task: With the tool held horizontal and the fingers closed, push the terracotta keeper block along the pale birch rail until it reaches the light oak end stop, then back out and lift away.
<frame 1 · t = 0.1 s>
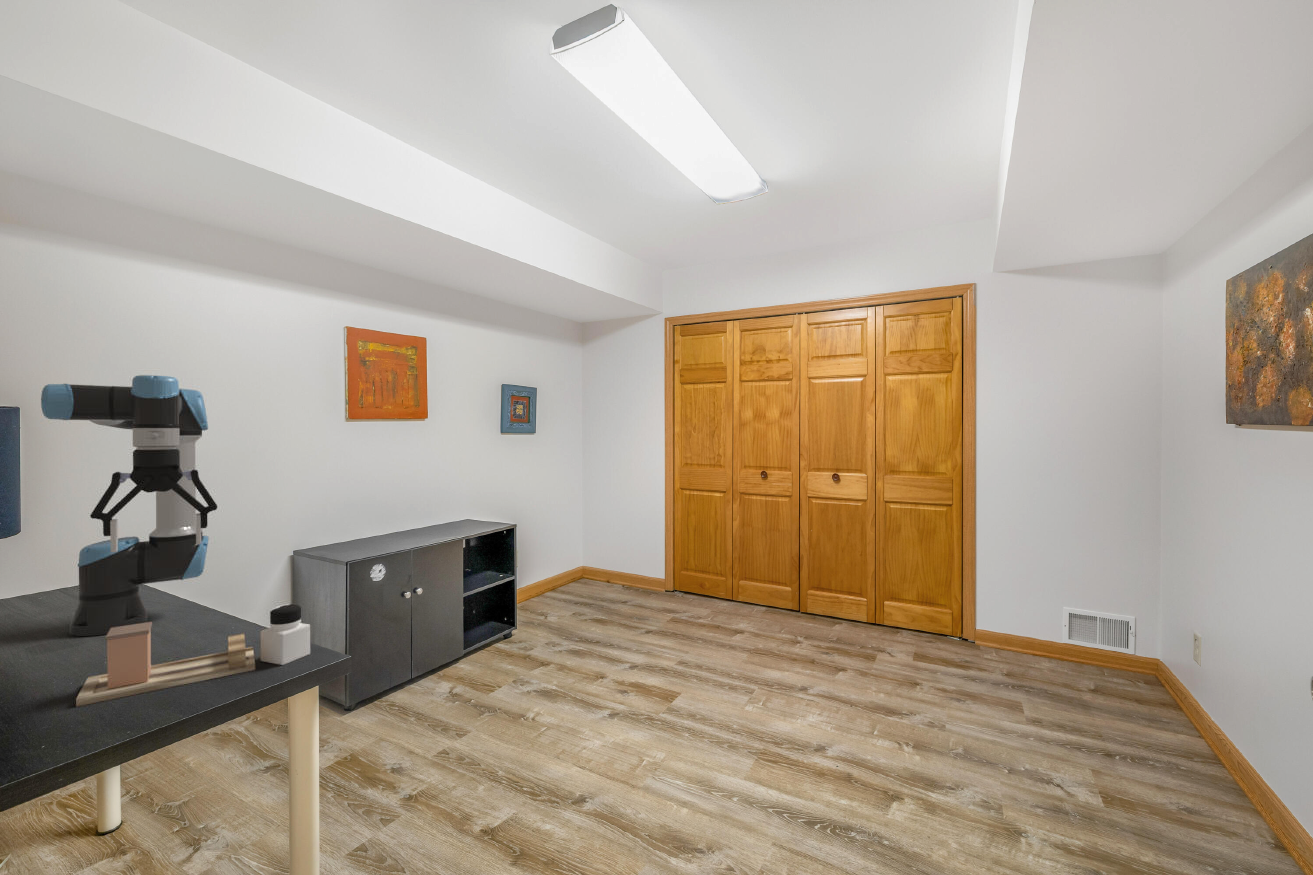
hand: (158, 547, 121), 28 cm above the table, tool pointing down, fingers open, 13 cm apart
keeper: (129, 654, 118), point 6 cm above the table, slide at 0.0 cm
rail track: (174, 676, 122), on the table
medicine bottle: (285, 658, 132), on the table
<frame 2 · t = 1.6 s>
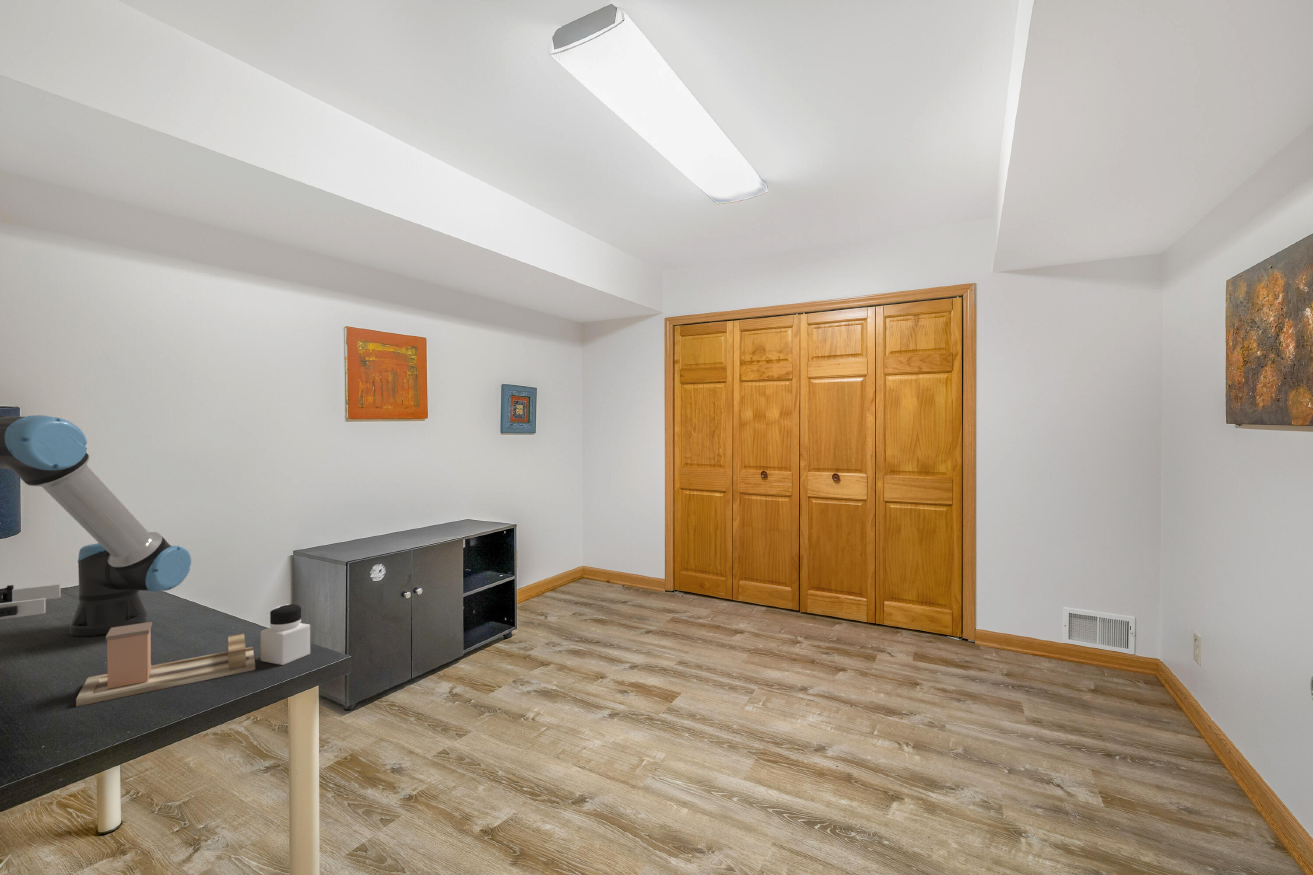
hand: (53, 597, 111), 20 cm above the table, tool horizontal, fingers open, 12 cm apart
nothing on the table moved.
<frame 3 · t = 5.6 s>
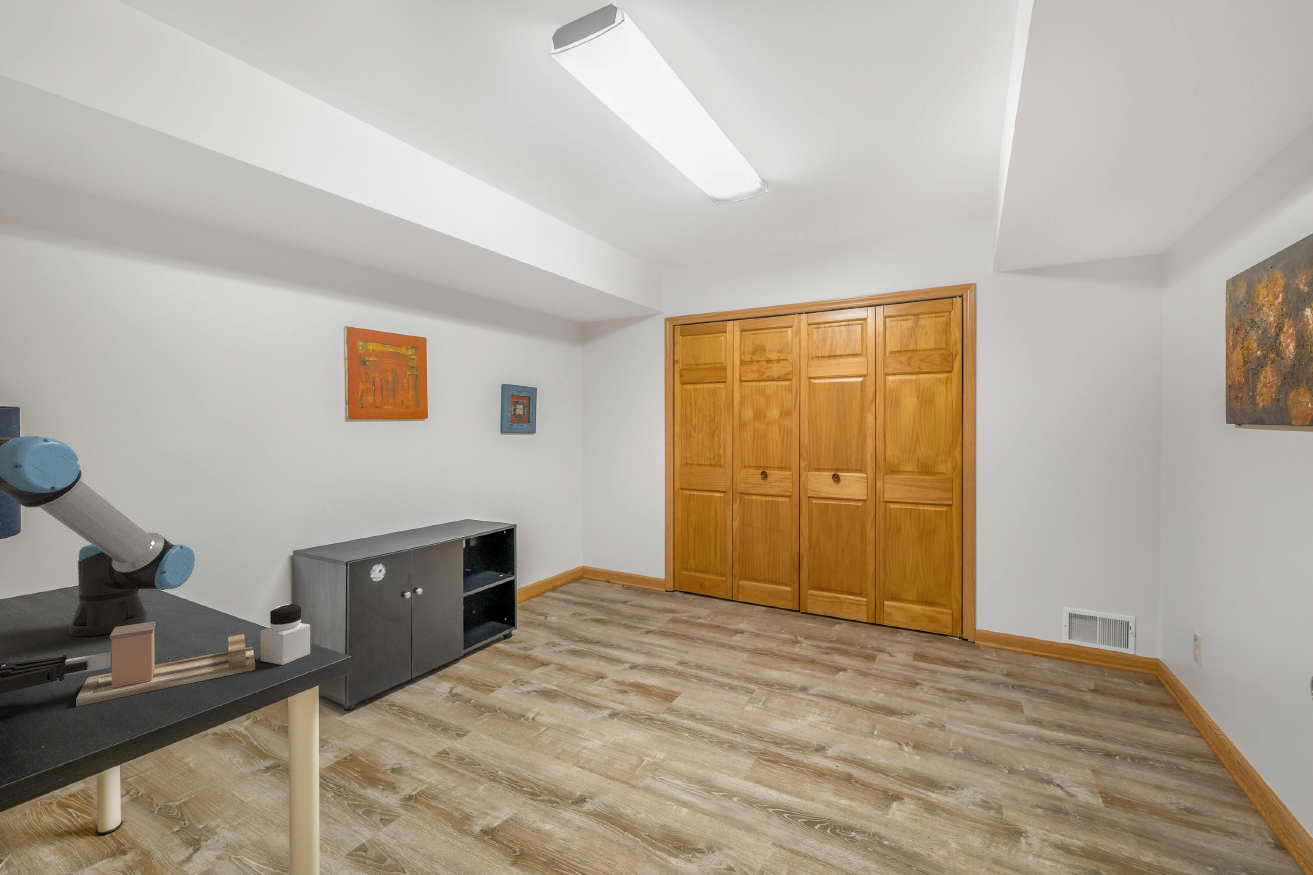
hand: (111, 659, 115), 6 cm above the table, tool horizontal, fingers closed
keeper: (133, 653, 118), point 6 cm above the table, slide at 0.6 cm, touching gripper
everything else where it was.
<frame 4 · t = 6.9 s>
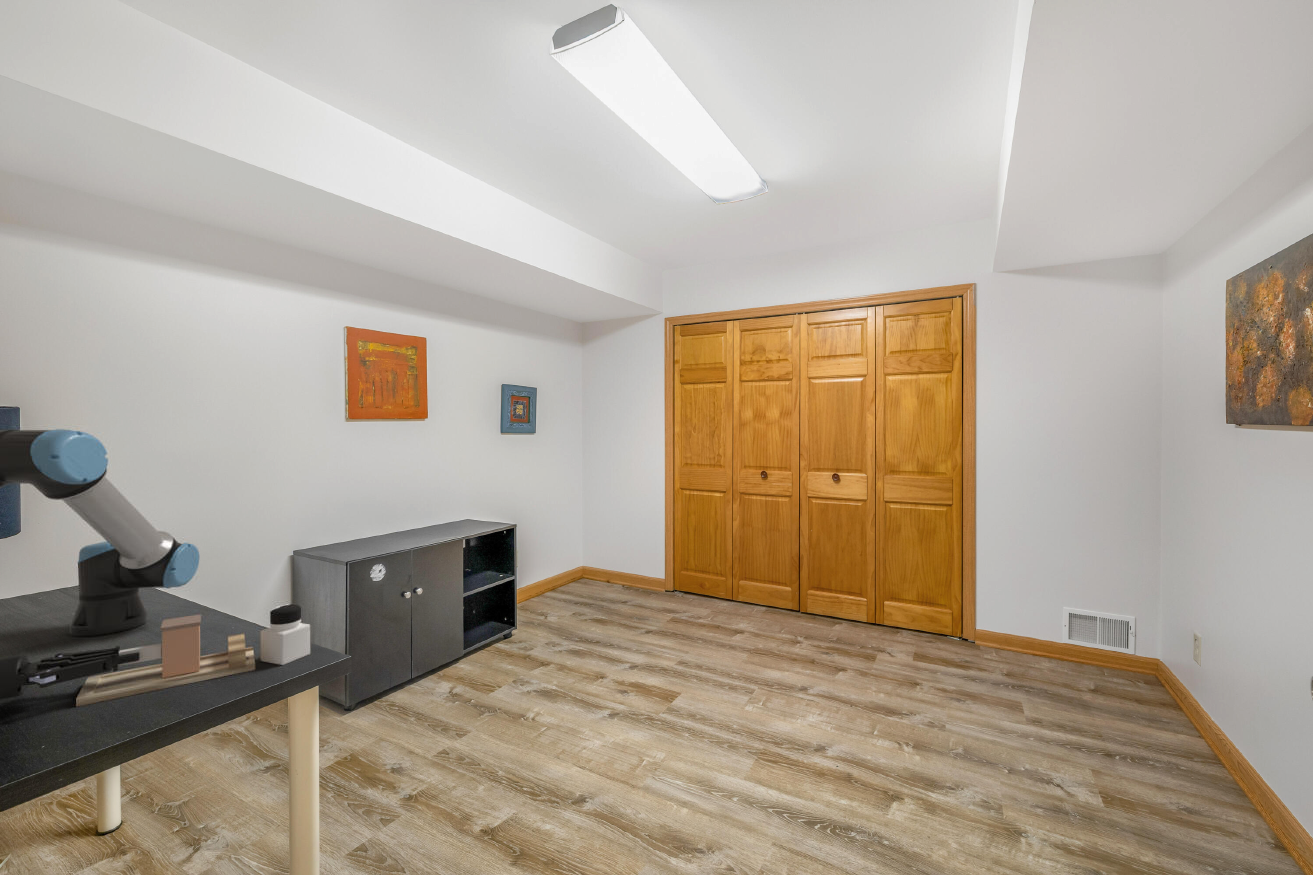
hand: (161, 650, 120), 6 cm above the table, tool horizontal, fingers closed
keeper: (181, 645, 123), point 6 cm above the table, slide at 8.3 cm, touching gripper
everything else where it was.
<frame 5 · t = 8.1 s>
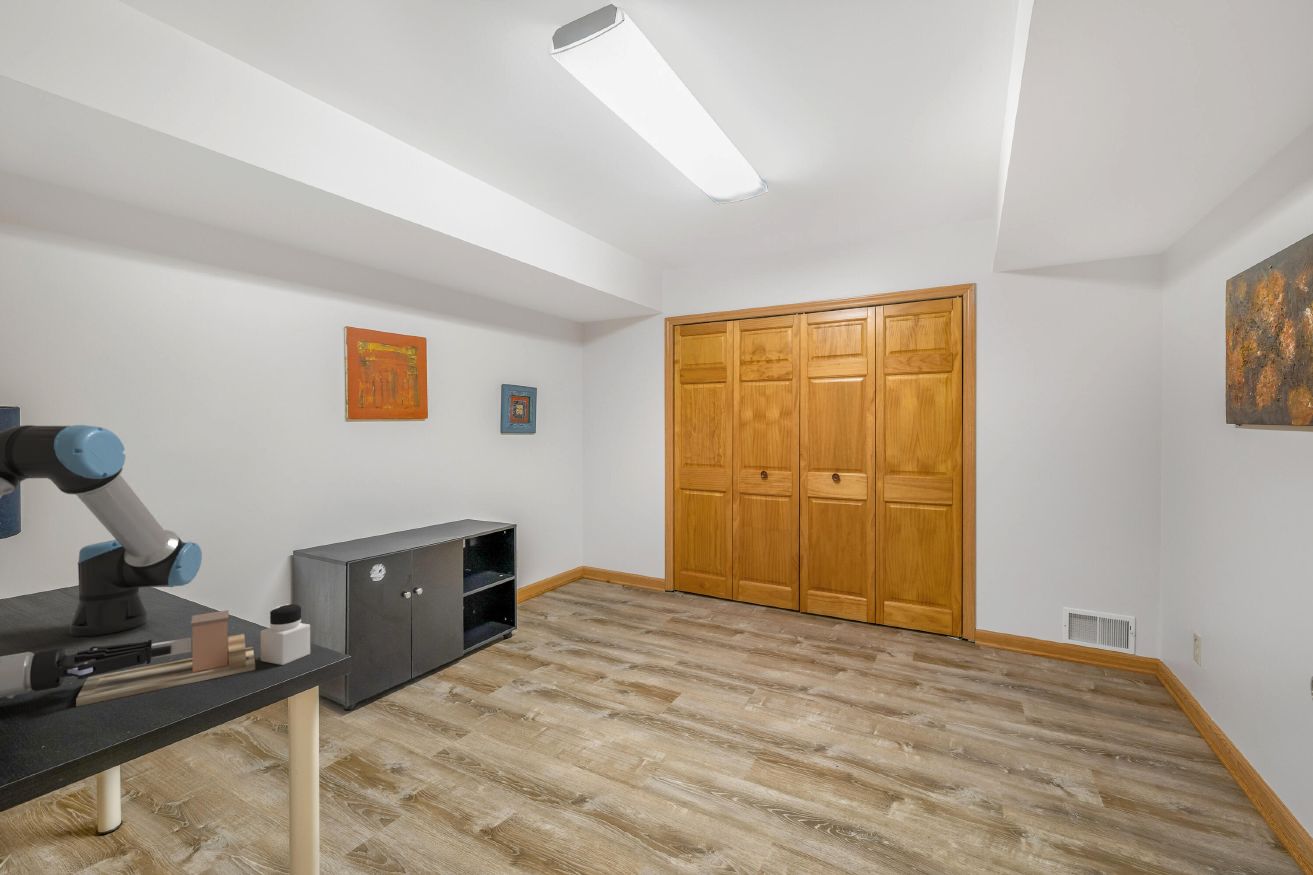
hand: (191, 644, 123), 6 cm above the table, tool horizontal, fingers closed
keeper: (210, 640, 126), point 6 cm above the table, slide at 13.2 cm, touching gripper
everything else where it was.
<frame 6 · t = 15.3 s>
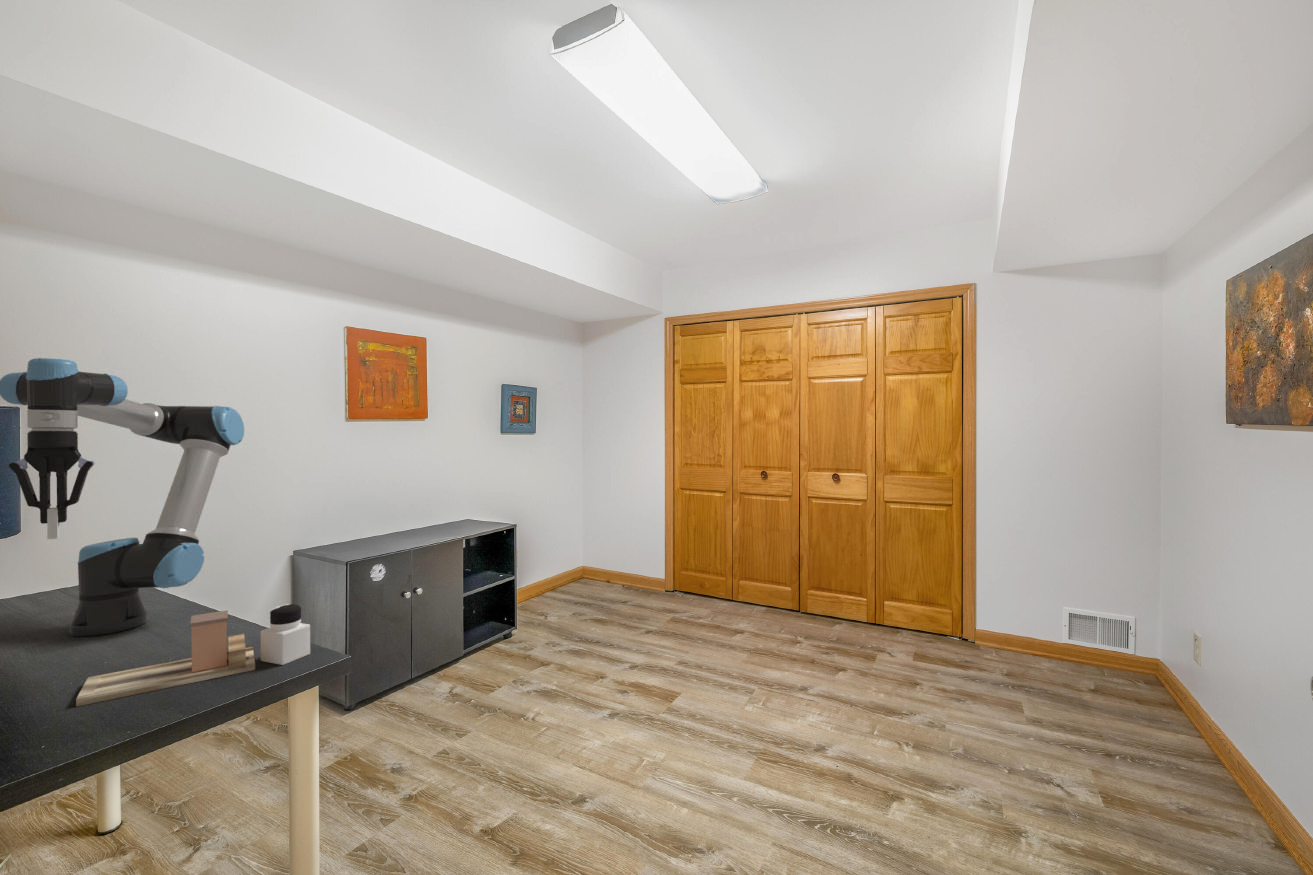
hand: (53, 537, 124), 29 cm above the table, tool pointing down, fingers closed
keeper: (209, 640, 125), point 6 cm above the table, slide at 13.0 cm
everything else where it was.
at the end: keeper slide at 13.0 cm; the gripper is holding nothing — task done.
